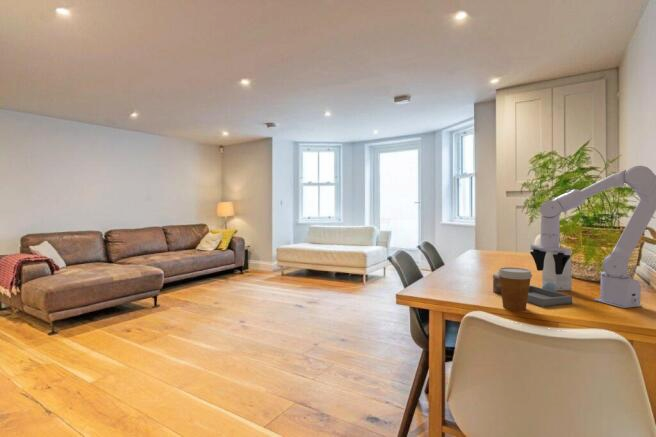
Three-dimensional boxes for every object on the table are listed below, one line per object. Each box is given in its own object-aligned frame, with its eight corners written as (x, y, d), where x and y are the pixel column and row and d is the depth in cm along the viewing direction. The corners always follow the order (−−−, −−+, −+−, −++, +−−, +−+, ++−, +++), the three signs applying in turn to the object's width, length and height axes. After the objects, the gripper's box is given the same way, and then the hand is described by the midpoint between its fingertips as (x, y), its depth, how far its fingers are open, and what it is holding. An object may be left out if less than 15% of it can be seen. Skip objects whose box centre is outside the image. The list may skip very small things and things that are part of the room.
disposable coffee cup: (501, 301, 113) (501, 266, 113) (534, 307, 107) (534, 269, 107) (493, 308, 106) (494, 270, 105) (529, 314, 100) (529, 273, 99)
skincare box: (572, 290, 127) (572, 249, 126) (554, 291, 127) (554, 249, 126) (557, 285, 135) (557, 246, 135) (540, 285, 135) (541, 246, 135)
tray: (572, 303, 110) (572, 296, 110) (542, 307, 107) (542, 299, 107) (530, 292, 125) (530, 285, 125) (503, 294, 122) (504, 287, 122)
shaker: (510, 293, 124) (510, 275, 123) (499, 294, 122) (499, 276, 122) (500, 290, 128) (500, 273, 128) (489, 291, 127) (489, 274, 127)
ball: (559, 295, 121) (559, 282, 121) (549, 295, 120) (549, 283, 120) (548, 292, 125) (548, 280, 125) (539, 292, 124) (539, 281, 124)
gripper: (524, 233, 128) (523, 269, 128) (559, 236, 114) (559, 276, 114) (539, 232, 130) (538, 268, 130) (576, 236, 116) (575, 275, 116)
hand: (549, 272), depth 122 cm, fingers open, 7 cm apart
